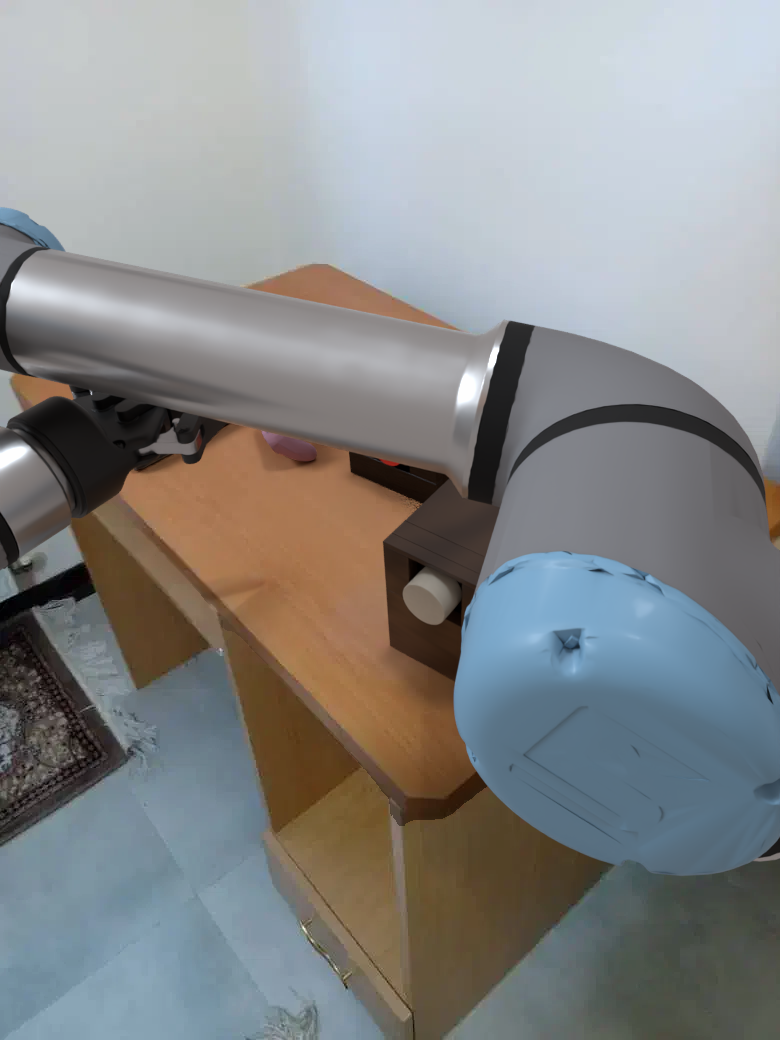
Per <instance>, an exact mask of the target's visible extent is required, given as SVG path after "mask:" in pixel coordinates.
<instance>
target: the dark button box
mask: <svg viewBox="0 0 780 1040" xmlns="http://www.w3.org/2000/svg"><path fill="white" fill-rule="evenodd" d="M348 458H349V459H348V460H349V469H350V473H351V474H353V475H356V476H358V477H360V478H362V479H364V480H368V481H370V482H372V483H374V484H376V485H379V486H381V487H383V488H386V489H388V490H390V491H393V492H395V493H397V494H399V495H401V496H404V497H406V498H408V499H411V500H413V501H415V502H418V503H420V504H421V505H422V504H423V503H424V502H425V501H426V500H427V499H428V498H429V497H430V496H431V495H432V494H434V493H435V492H436V491H437V490H438V489H439V488H440V487H441V486H442V485H443V484H444V483H445V482H446V481H447V480H448V479H449V477H448V476H447V475H445V474H442V473H438V472H434V471H430V470H425V469H421V468H417V467H413V466H408V465H404V464H399V465H397V466H390V465H387V464H385V463H383V462H382V461H381V460H380V459H379V458H375V457H370V456H366V455H362V454H358V453H354V452H349V451H348Z"/></svg>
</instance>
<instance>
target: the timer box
mask: <svg viewBox="0 0 780 1040" xmlns="http://www.w3.org/2000/svg"><path fill="white" fill-rule="evenodd" d="M499 510H500V508H499V507H497V506H494V505H490V504H486V503H482V502H477V501H473V500H469V499H466V498H462V496H461V495H460V493H459V492H458V490H457V488H456V487H455V485H454V484H453V482H452V481H451V479H450V478H449V479H448V480H447V481H446V482H445V483H444V484H443V485H442V486H441V487H440V488H439V489H438V490H437V491H436V492H435V493H434V494H432V495H431V496H430V497H429V498H428V499H427V500H426V501H425V502H424V503H423V504H422V503H421V505H419V506H418V507H417V508H416V510H414V511H413V512H412V513H410V515H409V516H408V517H406V519H405V520H403V522H401V523H400V524H399V525H398V526H397V527H396V528H395V529H394V530H393V531H392V532H391V533H390V534H388V536H387V537H385V538H384V539H383V540H382V549H383V550H382V551H383V563H384V578H385V579H384V580H385V595H386V609H387V625H388V635H389V636H388V637H389V638H388V639H389V646H390V647H391V648H393V649H394V650H397V651H399V652H401V654H402V653H403V655H406V656H407V657H409V658H412V659H413V660H415V661H417V662H418V663H420V664H422V665H424V666H426V667H428V668H430V669H431V670H434V671H435V672H437V673H439V674H440V675H443V676H444V677H446V678H447V679H449V680H451V681H453V682H455V680H456V675H457V670H458V666H459V661H460V656H461V643H462V632H461V631H462V627H463V622H464V615H465V611H466V608H467V607H468V605H469V604H470V603H471V601H472V599H473V596H474V593H475V589H476V586H477V583H478V580H479V576H480V573H481V570H482V566H483V563H484V560H485V557H486V553H487V550H488V547H489V543H490V540H491V537H492V533H493V530H494V527H495V524H496V520H497V517H498V514H499ZM426 566H427V567H429V568H431V569H433V570H435V571H437V572H439V573H441V574H444V575H446V576H448V577H450V578H452V579H454V580H456V581H457V582H458V584H459V586H460V588H461V591H462V599H461V601H460V603H459V604H458V605H457V606H456V607H455V608H454V610H453V611H452V612H451V613H450V614H449V615H448V616H447V617H446V619H445V620H444V621H443V622H442V623H440V624H438V625H431V624H428V623H425V622H423V621H421V620H420V619H418V618H417V617H416V616H415V615H414V614H413V613H412V612H411V611H410V610H409V609H408V607H407V606H406V604H405V602H404V599H403V590H404V588H405V586H406V585H407V584H408V583H409V582H410V581H411V580H412V579H413V578H414V577H415V576H416V575H417V574H418V573H419V572H420V571H421V570H422V569H423V568H424V567H426Z"/></svg>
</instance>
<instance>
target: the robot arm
mask: <svg viewBox="0 0 780 1040" xmlns="http://www.w3.org/2000/svg"><path fill="white" fill-rule="evenodd" d="M0 371H5V372H8V373H13V374H17V375H20V376H25V377H31V378H37V379H42V380H46V381H50V382H55V383H59V384H62V385H68V386H69V390H70V393H71V396H72V398H73V399H70V398H68V397H65V396H62V395H54V396H50V397H48V398H45V399H44V400H41V401H40V402H38V403H36V404H34V405H32V406H31V407H29V408H27V409H26V410H24V411H22V412H20V413H18V414H17V415H14V416H13V417H11V418H9V419H8V421H7V424H6V427H5V426H0V571H1V570H6V568H7V567H9V566H11V565H13V564H14V563H16V562H17V561H18V560H19V559H20V558H22V557H23V556H25V555H27V554H28V553H29V552H31V551H33V550H34V549H36V548H38V547H39V546H40V545H42V544H43V543H45V542H46V541H48V540H50V539H51V538H52V537H54V536H56V535H57V534H59V533H60V532H62V531H64V530H65V529H66V528H67V527H69V526H70V525H71V522H72V519H83V518H84V517H86V516H88V515H89V514H90V513H93V511H95V510H96V509H98V508H100V507H101V506H102V505H104V504H105V503H107V502H109V500H111V499H113V498H114V497H116V496H117V495H119V494H120V493H121V492H122V490H123V488H124V485H125V482H126V480H127V478H128V476H129V474H130V472H132V471H133V470H134V468H137V467H139V466H142V465H146V464H149V463H152V462H153V461H155V460H156V459H157V458H158V457H159V456H160V454H169V455H173V454H174V455H181V458H182V461H183V463H185V464H186V465H194V464H197V463H199V462H200V461H201V460H202V457H203V455H204V452H205V450H206V447H207V444H208V443H209V442H210V441H211V440H212V439H213V438H214V437H215V436H216V435H217V434H218V433H219V432H220V431H221V430H222V429H223V428H224V427H225V426H226V425H228V424H232V425H236V426H240V427H245V428H248V429H252V430H256V431H265V432H269V433H273V434H278V435H282V436H286V437H290V438H294V439H299V440H303V441H305V442H307V443H310V444H316V445H320V446H324V447H329V448H332V449H337V450H341V451H345V452H348V453H349V452H354V453H358V454H362V455H366V456H370V457H375V458H379V459H383V460H387V461H392V462H396V463H400V464H404V465H408V466H413V467H417V468H421V469H425V470H430V471H434V472H438V473H442V474H445V475H447V476H448V477H449V478H450V479H451V481H452V482H453V484H454V485H455V487H456V488H457V490H458V492H459V493H460V495H461V496H462V498H466V499H469V500H473V501H477V502H482V503H486V504H490V505H494V506H497V507H499V508H500V510H499V514H498V517H497V520H496V524H495V527H494V530H493V533H492V537H491V540H490V543H489V547H488V550H487V553H486V557H485V560H484V563H483V566H482V570H481V573H480V576H479V580H478V583H477V586H476V589H475V593H474V596H473V599H472V601H471V603H470V604H469V605H468V607H467V608H466V611H465V615H464V622H463V627H462V631H461V632H462V643H461V656H460V661H459V666H458V670H457V675H456V680H455V681H454V687H453V713H454V721H455V724H456V725H455V726H456V729H457V731H458V735H459V737H460V738H461V740H462V741H463V742H464V743H465V749H466V753H467V755H468V759H469V762H470V763H471V765H472V767H473V768H474V770H475V771H476V772H477V774H478V775H479V777H480V778H481V779H482V781H483V782H484V783H485V785H486V786H487V788H489V790H490V791H491V792H492V793H493V794H494V795H495V796H496V797H497V799H499V800H500V801H501V802H502V803H503V804H504V805H505V806H506V807H507V808H509V809H510V810H511V811H512V812H513V813H514V814H515V815H517V816H518V817H519V818H520V819H522V820H523V821H524V822H526V823H527V824H529V825H530V826H531V827H533V828H534V829H535V830H537V831H539V832H540V833H542V834H544V835H545V836H547V837H548V838H550V839H552V840H553V841H556V842H557V843H559V844H561V845H563V846H565V847H567V848H569V849H572V850H574V851H576V852H578V853H581V854H583V855H585V856H587V857H590V858H592V859H595V860H598V861H600V862H605V863H608V864H610V865H614V866H616V867H623V866H624V865H625V863H626V861H632V862H635V863H638V864H640V865H642V866H643V867H644V868H645V869H646V871H648V872H649V873H651V874H655V875H656V874H657V875H658V874H659V875H666V876H667V875H669V876H679V877H686V876H703V875H704V876H705V875H714V874H719V873H724V872H728V871H731V870H734V869H738V868H739V867H742V866H745V865H747V864H749V863H752V862H767V861H776V860H780V549H779V548H777V547H776V546H775V545H774V543H773V542H772V541H771V536H770V526H769V517H768V515H769V514H768V507H767V498H766V497H767V496H766V487H765V478H764V472H763V470H762V467H761V463H760V459H759V456H758V454H757V451H756V449H755V447H754V445H753V443H752V440H751V439H750V437H749V436H748V434H747V433H746V431H745V429H744V428H743V427H742V426H741V424H740V422H738V420H737V419H736V417H735V416H734V415H733V414H732V413H731V412H730V411H729V410H728V409H727V408H726V407H725V406H724V405H723V404H722V403H721V402H720V401H719V400H718V399H717V398H716V397H715V396H714V395H712V394H711V393H709V392H708V390H706V389H704V388H703V387H702V386H701V385H699V384H698V383H696V382H695V381H693V380H692V379H691V378H689V377H687V376H685V375H683V374H682V373H680V372H678V371H677V370H674V369H673V368H671V367H669V366H667V365H665V364H662V363H660V362H658V361H656V360H653V359H651V358H648V357H646V356H643V355H641V354H640V353H637V352H634V351H632V350H628V349H626V348H623V347H620V346H617V345H614V344H611V343H608V342H606V341H602V340H598V339H594V338H591V337H587V336H583V335H579V334H576V333H573V332H567V331H563V330H558V329H554V328H549V327H544V326H539V325H535V324H529V323H525V322H521V321H520V322H519V321H516V320H511V319H503V320H500V322H498V323H496V324H495V325H494V326H492V327H490V328H489V329H487V330H486V331H485V332H483V333H478V334H477V333H471V332H467V331H462V330H457V329H456V330H455V329H451V328H446V327H442V326H436V325H431V324H426V323H422V322H416V321H411V320H407V319H401V318H397V317H392V316H387V315H381V314H377V313H372V312H367V311H362V310H357V309H352V308H347V307H342V306H337V305H333V304H328V303H322V302H318V301H313V300H307V299H302V298H297V297H292V296H287V295H282V294H277V293H272V292H267V291H263V290H258V289H253V288H248V287H243V286H238V285H234V284H227V283H223V282H218V281H214V280H208V279H203V278H199V277H193V276H189V275H183V274H178V273H173V272H168V271H164V270H158V269H153V268H149V267H143V266H137V265H133V264H129V263H123V262H119V261H114V260H108V259H103V258H99V257H93V256H90V255H83V254H79V253H73V252H69V251H66V249H65V248H64V246H63V244H62V243H61V242H60V241H59V239H58V238H57V237H56V236H55V234H54V233H53V232H52V231H51V230H50V229H48V227H46V226H45V225H42V224H41V225H40V224H39V223H37V222H36V221H35V220H33V219H32V218H30V216H29V215H28V214H27V213H25V212H22V211H20V210H18V209H14V208H11V207H5V206H0ZM227 423H228V424H227ZM152 464H153V463H152Z"/></svg>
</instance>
